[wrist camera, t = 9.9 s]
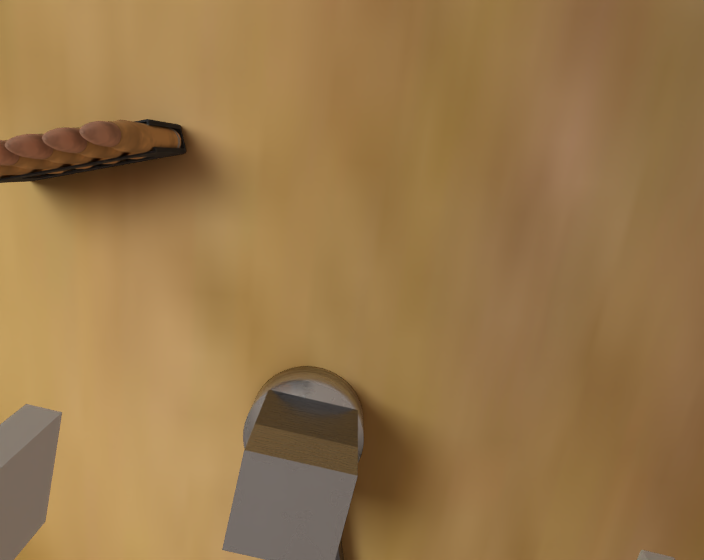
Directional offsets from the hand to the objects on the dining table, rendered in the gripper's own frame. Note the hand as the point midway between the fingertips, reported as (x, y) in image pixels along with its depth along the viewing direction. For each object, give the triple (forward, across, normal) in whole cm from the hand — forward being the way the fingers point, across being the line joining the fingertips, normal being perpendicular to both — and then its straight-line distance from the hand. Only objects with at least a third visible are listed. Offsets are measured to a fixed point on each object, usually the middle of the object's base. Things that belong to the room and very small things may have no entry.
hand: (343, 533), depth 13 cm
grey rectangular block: (+23, 0, -11) cm, 26 cm away
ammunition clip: (+27, -18, +4) cm, 33 cm away
